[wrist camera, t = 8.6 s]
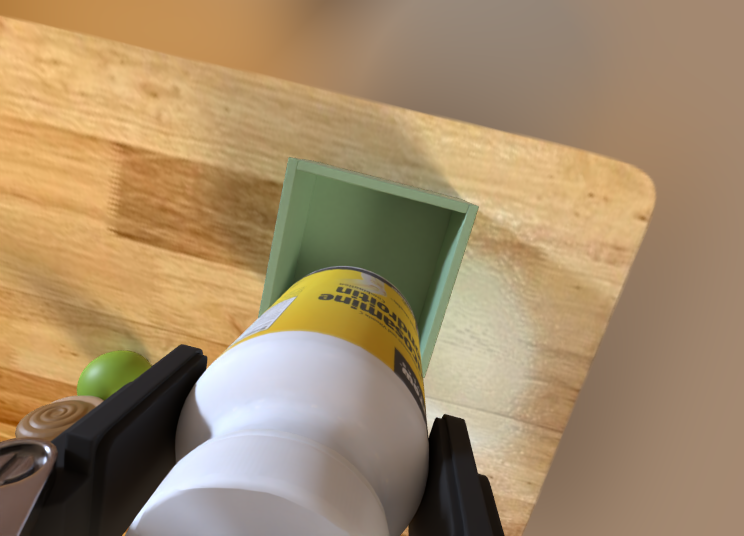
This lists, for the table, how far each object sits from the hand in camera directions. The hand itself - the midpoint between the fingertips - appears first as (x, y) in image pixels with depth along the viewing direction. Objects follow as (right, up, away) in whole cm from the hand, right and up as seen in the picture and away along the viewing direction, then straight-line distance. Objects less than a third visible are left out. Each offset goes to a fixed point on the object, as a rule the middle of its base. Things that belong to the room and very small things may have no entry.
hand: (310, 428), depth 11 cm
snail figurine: (-19, -5, +25) cm, 31 cm away
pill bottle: (+1, +2, +7) cm, 7 cm away
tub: (+1, +6, +20) cm, 21 cm away
